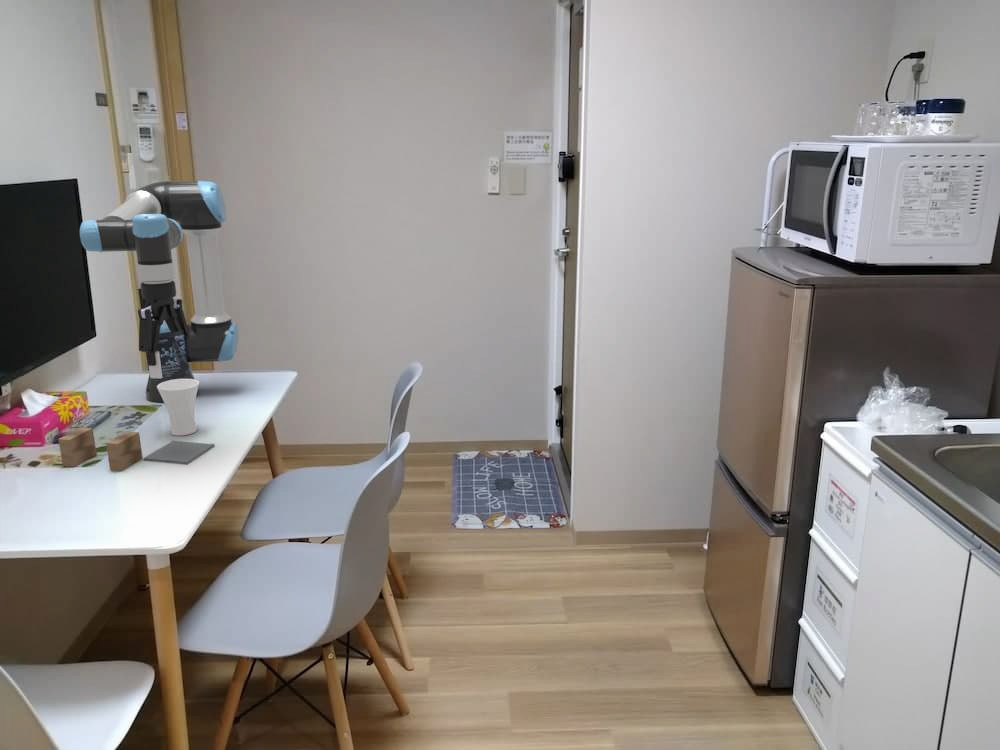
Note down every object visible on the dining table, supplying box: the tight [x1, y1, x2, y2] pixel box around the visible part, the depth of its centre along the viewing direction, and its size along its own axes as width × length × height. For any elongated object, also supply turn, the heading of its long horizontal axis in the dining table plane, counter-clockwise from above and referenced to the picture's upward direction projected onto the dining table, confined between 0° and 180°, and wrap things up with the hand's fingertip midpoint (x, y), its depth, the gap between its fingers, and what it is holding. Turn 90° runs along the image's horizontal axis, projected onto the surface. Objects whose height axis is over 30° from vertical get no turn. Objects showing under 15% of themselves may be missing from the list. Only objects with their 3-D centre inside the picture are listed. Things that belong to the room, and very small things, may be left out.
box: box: [151, 331, 188, 381], centre depth 186 cm, size 8×6×11 cm
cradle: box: [57, 427, 144, 472], centre depth 187 cm, size 8×16×7 cm, turn 79°
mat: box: [142, 440, 215, 465], centre depth 193 cm, size 12×12×1 cm
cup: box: [157, 378, 200, 436], centre depth 206 cm, size 10×10×14 cm
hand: (169, 372), depth 187 cm, fingers closed on box, 9 cm apart
